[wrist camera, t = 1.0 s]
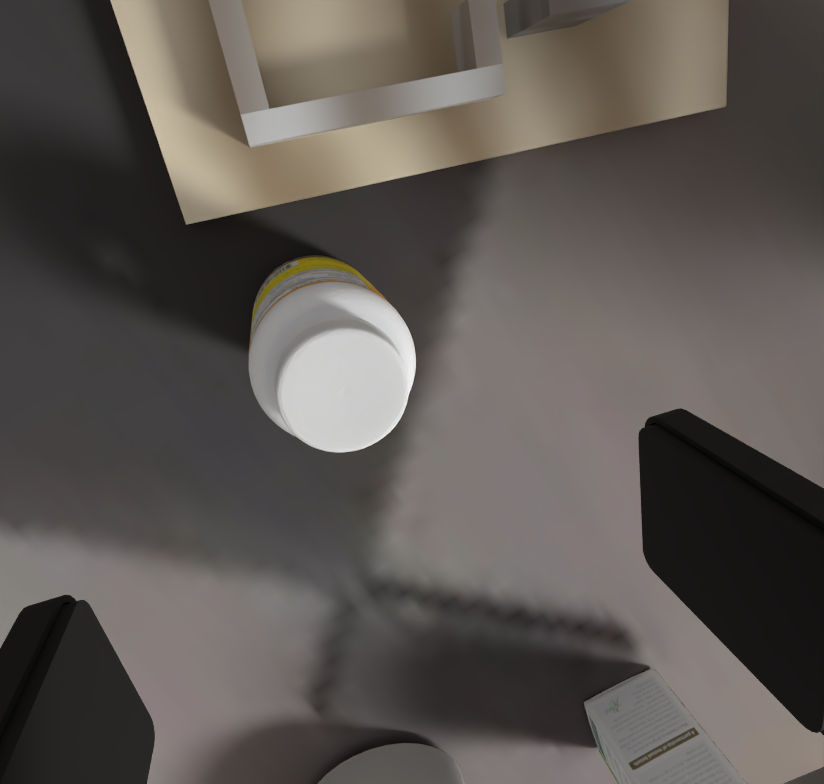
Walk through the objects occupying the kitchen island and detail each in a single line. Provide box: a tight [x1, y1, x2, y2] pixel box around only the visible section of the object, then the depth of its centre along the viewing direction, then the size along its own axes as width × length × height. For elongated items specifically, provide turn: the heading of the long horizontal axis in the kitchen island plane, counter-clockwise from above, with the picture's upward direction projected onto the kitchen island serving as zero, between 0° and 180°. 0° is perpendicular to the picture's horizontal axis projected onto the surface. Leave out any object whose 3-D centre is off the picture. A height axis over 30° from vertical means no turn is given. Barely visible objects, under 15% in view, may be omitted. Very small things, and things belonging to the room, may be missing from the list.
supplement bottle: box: [249, 255, 416, 452], centre depth 22 cm, size 6×6×10 cm
